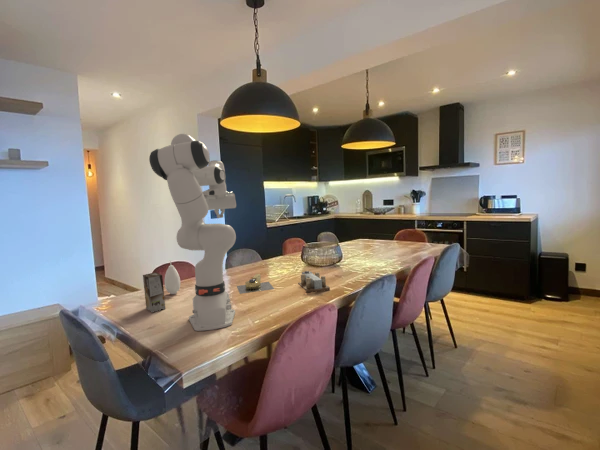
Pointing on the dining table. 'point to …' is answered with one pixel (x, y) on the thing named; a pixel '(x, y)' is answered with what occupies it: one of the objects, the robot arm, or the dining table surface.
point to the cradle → (307, 284)
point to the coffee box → (154, 291)
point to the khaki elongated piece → (253, 282)
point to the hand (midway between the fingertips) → (220, 217)
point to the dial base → (263, 287)
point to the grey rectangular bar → (313, 280)
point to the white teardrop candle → (172, 280)
